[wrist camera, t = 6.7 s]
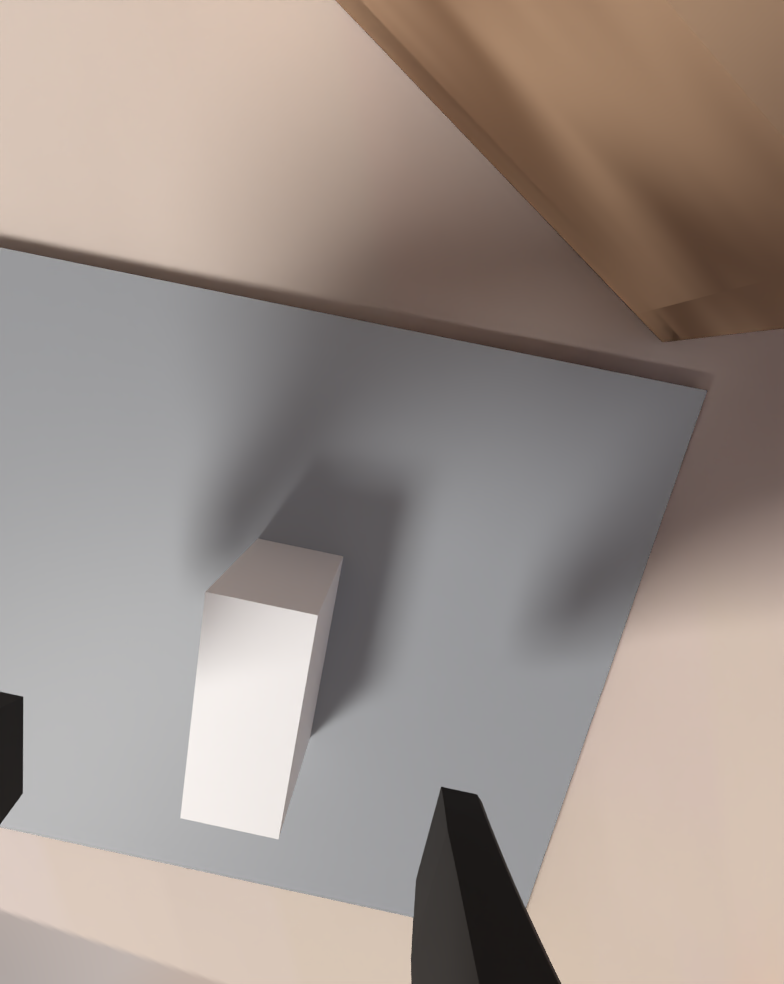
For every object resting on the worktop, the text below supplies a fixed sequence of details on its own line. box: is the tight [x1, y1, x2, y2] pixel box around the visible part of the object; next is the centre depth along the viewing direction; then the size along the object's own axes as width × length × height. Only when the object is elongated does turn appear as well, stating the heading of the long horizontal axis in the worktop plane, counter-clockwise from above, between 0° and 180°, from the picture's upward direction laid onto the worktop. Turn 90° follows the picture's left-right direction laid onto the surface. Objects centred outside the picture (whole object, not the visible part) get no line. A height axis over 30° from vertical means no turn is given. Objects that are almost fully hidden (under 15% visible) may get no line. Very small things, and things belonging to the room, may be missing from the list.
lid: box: [0, 248, 707, 917], centre depth 11 cm, size 15×15×4 cm
